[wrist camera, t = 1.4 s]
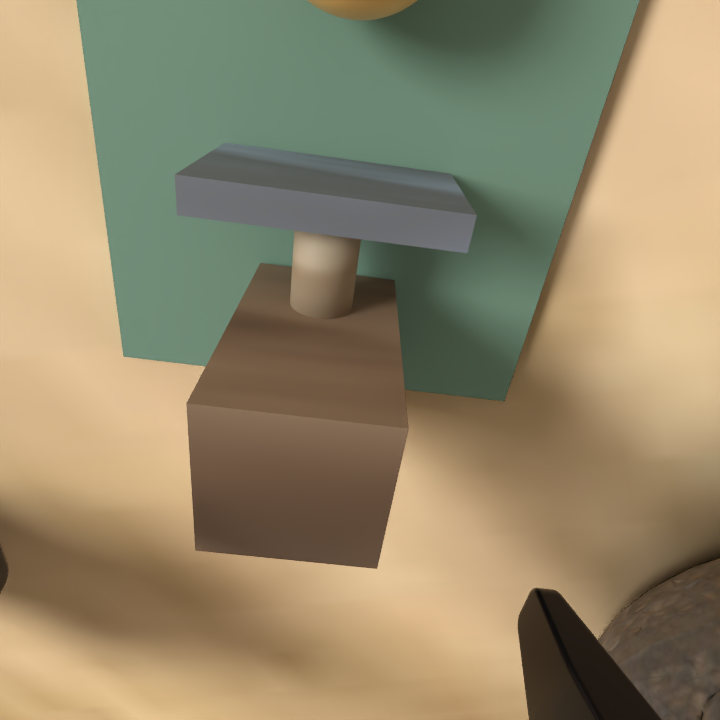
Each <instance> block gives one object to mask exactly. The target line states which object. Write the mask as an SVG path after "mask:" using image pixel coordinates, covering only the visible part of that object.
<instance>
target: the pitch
mask: <svg viewBox="0 0 720 720" xmlns="http://www.w3.org/2000/svg"><path fill="white" fill-rule="evenodd" d="M639 1H640V0H417V1H416V2H415V3H413V4H412V5H410V6H409V7H407V8H405V9H404V10H402V11H400V12H398V13H395V14H393V15H391V16H388V17H384V18H380V19H376V20H365V21H359V20H348V19H344V18H340V17H336V16H334V15H331V14H329V13H326V12H324V11H322V10H320V9H319V8H317V7H315V6H314V5H312V4H311V3H310V2H308V1H307V0H77V8H78V16H79V23H80V31H81V38H82V46H83V53H84V61H85V68H86V76H87V84H88V91H89V99H90V106H91V114H92V121H93V129H94V136H95V144H96V151H97V159H98V167H99V174H100V182H101V189H102V197H103V204H104V212H105V219H106V227H107V235H108V242H109V250H110V257H111V265H112V272H113V280H114V287H115V295H116V303H117V310H118V318H119V325H120V333H121V340H122V348H123V355H124V357H132V358H140V359H149V360H157V361H166V362H174V363H183V364H191V365H200V366H206V365H207V364H208V362H209V360H210V358H211V356H212V354H213V352H214V350H215V348H216V346H217V345H218V343H219V341H220V339H221V337H222V335H223V333H224V331H225V329H226V327H227V325H228V324H229V322H230V320H231V318H232V316H233V314H234V312H235V310H236V308H237V306H238V305H239V303H240V301H241V299H242V297H243V295H244V293H245V291H246V289H247V287H248V285H249V284H250V282H251V280H252V278H253V276H254V274H255V272H256V270H257V268H258V266H259V264H260V263H265V264H273V265H281V266H289V267H292V261H293V245H294V231H293V230H285V229H278V228H270V227H262V226H255V225H247V224H240V223H232V222H224V221H217V220H209V219H201V218H194V217H186V216H178V215H177V206H176V189H175V174H176V173H178V172H179V171H181V170H183V169H184V168H186V167H187V166H189V165H190V164H192V163H194V162H195V161H197V160H198V159H200V158H201V157H203V156H205V155H206V154H208V153H209V152H211V151H212V150H214V149H216V148H217V147H219V146H220V145H222V144H223V143H225V142H226V143H233V144H240V145H248V146H255V147H262V148H269V149H277V150H284V151H291V152H298V153H306V154H313V155H320V156H327V157H334V158H342V159H349V160H356V161H363V162H371V163H378V164H385V165H392V166H399V167H407V168H414V169H421V170H428V171H436V172H443V173H450V174H451V175H452V176H453V178H454V179H455V181H456V183H457V184H458V186H459V187H460V189H461V191H462V192H463V194H464V195H465V197H466V199H467V200H468V202H469V203H470V205H471V207H472V208H473V210H474V212H475V213H476V215H477V217H476V221H475V225H474V229H473V233H472V237H471V241H470V245H469V249H468V253H461V252H453V251H446V250H438V249H430V248H423V247H415V246H407V245H400V244H392V243H385V242H377V241H369V240H362V239H361V243H360V251H359V258H358V266H357V274H356V275H359V276H367V277H375V278H383V279H391V280H395V290H396V301H397V312H398V322H399V333H400V344H401V354H402V365H403V376H404V386H405V390H412V391H421V392H430V393H438V394H447V395H455V396H464V397H472V398H481V399H489V400H498V401H505V398H506V395H507V392H508V389H509V386H510V383H511V380H512V377H513V374H514V371H515V368H516V365H517V362H518V359H519V356H520V353H521V350H522V347H523V344H524V341H525V338H526V335H527V332H528V329H529V326H530V324H531V321H532V318H533V315H534V312H535V309H536V306H537V303H538V300H539V297H540V294H541V291H542V288H543V285H544V282H545V279H546V276H547V273H548V270H549V267H550V264H551V261H552V258H553V255H554V252H555V249H556V247H557V244H558V241H559V238H560V235H561V232H562V229H563V226H564V223H565V220H566V217H567V214H568V211H569V208H570V205H571V202H572V199H573V196H574V193H575V190H576V187H577V184H578V181H579V178H580V175H581V172H582V170H583V167H584V164H585V161H586V158H587V155H588V152H589V149H590V146H591V143H592V140H593V137H594V134H595V131H596V128H597V125H598V122H599V119H600V116H601V113H602V110H603V107H604V104H605V101H606V98H607V95H608V93H609V90H610V87H611V84H612V81H613V78H614V75H615V72H616V69H617V66H618V63H619V60H620V57H621V54H622V51H623V48H624V45H625V42H626V39H627V36H628V33H629V30H630V27H631V24H632V21H633V18H634V16H635V13H636V10H637V7H638V4H639Z"/></svg>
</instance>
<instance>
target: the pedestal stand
mask: <svg viewBox="0 0 720 720" xmlns="http://www.w3.org/2000/svg"><path fill="white" fill-rule="evenodd" d="M175 189H176V206H177V215H178V216H186V217H194V218H201V219H209V220H217V221H224V222H232V223H240V224H247V225H255V226H262V227H270V228H278V229H285V230H293V231H294V245H293V261H292V267H289V266H281V265H273V264H265V263H260V264H259V266H258V268H257V270H256V272H255V274H254V276H253V278H252V280H251V282H250V284H249V285H248V287H247V289H246V291H245V293H244V295H243V297H242V299H241V301H240V303H239V305H238V306H237V308H236V310H235V312H234V314H233V316H232V318H231V320H230V322H229V324H228V325H227V327H226V329H225V331H224V333H223V335H222V337H221V339H220V341H219V343H218V345H217V346H216V348H215V350H214V352H213V354H212V356H211V358H210V360H209V362H208V364H207V365H206V367H205V369H204V371H203V373H202V375H201V377H200V379H199V381H198V383H197V385H196V386H195V388H194V390H193V392H192V394H191V396H190V398H189V400H188V402H187V418H188V435H189V451H190V467H191V484H192V500H193V517H194V533H195V549H196V550H197V551H207V552H216V553H226V554H236V555H246V556H256V557H266V558H276V559H286V560H296V561H306V562H316V563H326V564H336V565H346V566H356V567H366V568H376V569H377V566H378V562H379V557H380V553H381V548H382V544H383V540H384V535H385V531H386V526H387V522H388V517H389V513H390V508H391V504H392V500H393V495H394V491H395V486H396V482H397V477H398V473H399V468H400V464H401V460H402V455H403V451H404V446H405V442H406V437H407V433H408V418H407V408H406V397H405V386H404V376H403V365H402V354H401V344H400V333H399V322H398V312H397V301H396V290H395V280H391V279H383V278H375V277H367V276H359V275H356V274H357V266H358V258H359V251H360V243H361V239H362V240H369V241H377V242H385V243H392V244H400V245H407V246H415V247H423V248H430V249H438V250H446V251H453V252H461V253H468V249H469V245H470V241H471V237H472V233H473V229H474V225H475V221H476V217H477V215H476V213H475V212H474V210H473V208H472V207H471V205H470V203H469V202H468V200H467V199H466V197H465V195H464V194H463V192H462V191H461V189H460V187H459V186H458V184H457V183H456V181H455V179H454V178H453V176H452V175H451V174H450V173H443V172H436V171H428V170H421V169H414V168H407V167H399V166H392V165H385V164H378V163H371V162H363V161H356V160H349V159H342V158H334V157H327V156H320V155H313V154H306V153H298V152H291V151H284V150H277V149H269V148H262V147H255V146H248V145H240V144H233V143H226V142H225V143H223V144H222V145H220V146H219V147H217V148H216V149H214V150H212V151H211V152H209V153H208V154H206V155H205V156H203V157H201V158H200V159H198V160H197V161H195V162H194V163H192V164H190V165H189V166H187V167H186V168H184V169H183V170H181V171H179V172H178V173H176V174H175Z"/></svg>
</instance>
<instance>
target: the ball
mask: <svg viewBox="0 0 720 720" xmlns="http://www.w3.org/2000/svg"><path fill="white" fill-rule="evenodd" d="M307 1H308V2H310V3H311V4H312V5H314V6H315V7H317V8H319V9H320V10H322V11H324V12H326V13H329V14H331V15H334V16H336V17H340V18H344V19H348V20H359V21H365V20H376V19H380V18H384V17H388V16H391V15H393V14H395V13H398V12H400V11H402V10H404V9H405V8H407V7H409V6H410V5H412V4H413V3H415V2H416V1H417V0H307Z"/></svg>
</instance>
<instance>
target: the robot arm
mask: <svg viewBox="0 0 720 720" xmlns="http://www.w3.org/2000/svg"><path fill="white" fill-rule="evenodd" d="M7 576H8V564H7V561H6V558H5V555H4V552H3V549H2V547H1V544H0V593H1V591H2V589H3V587H4V584H5V582H6V580H7ZM518 634H519V642H520V650H521V658H522V667H523V675H524V683H525V691H526V699H527V708H528V715H529V720H662V719H661V718H660V716H659V715H658V714H657V713H656V711H655V710H654V709H653V708H652V707H651V705H650V704H649V703H648V702H647V700H646V699H645V698H644V697H643V695H642V694H641V693H640V692H639V690H638V689H637V688H636V687H635V686H634V684H633V683H632V682H631V681H630V679H629V678H628V677H627V676H626V674H625V673H624V672H623V671H622V669H621V668H620V667H619V666H618V665H617V663H616V662H615V661H614V660H613V658H612V657H611V656H610V655H609V653H608V652H607V651H606V650H605V648H604V647H603V646H602V645H601V644H600V642H599V641H598V640H597V639H596V637H595V636H594V635H593V634H592V632H591V631H590V630H589V629H588V627H587V626H586V625H585V624H584V623H583V621H582V620H581V619H580V618H579V616H578V615H577V614H576V613H575V611H574V610H573V609H572V608H571V606H570V605H569V604H568V603H567V602H566V600H565V599H564V598H563V597H562V595H561V594H560V593H558V592H557V591H555V590H552V589H542V588H534V589H533V590H531V592H530V593H529V595H528V598H527V600H526V602H525V604H524V606H523V608H522V610H521V612H520V614H519V618H518Z"/></svg>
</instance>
